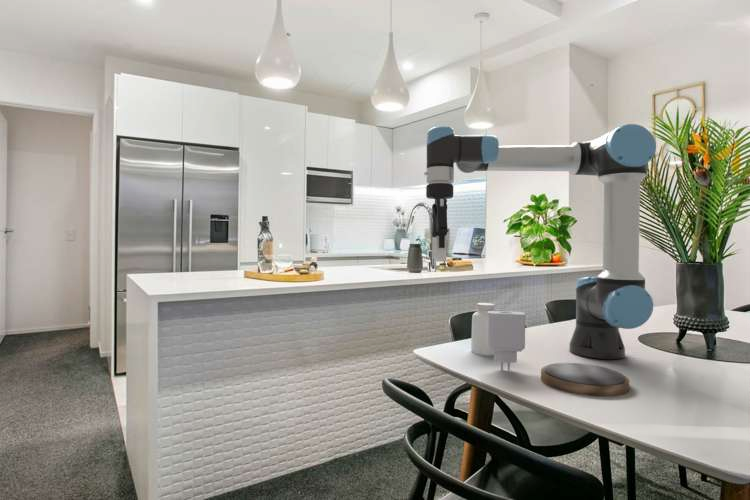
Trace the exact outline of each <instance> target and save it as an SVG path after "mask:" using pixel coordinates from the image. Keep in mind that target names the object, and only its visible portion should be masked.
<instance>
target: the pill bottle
mask: <svg viewBox="0 0 750 500" xmlns="http://www.w3.org/2000/svg"><path fill="white" fill-rule="evenodd" d="M495 309H496V305H495V303H490V302H478V303H476V311H475V312H474V313H473V314H472V317H471V339H470V341H471V343H470V344H471V345H470V346H471V347H470V349H471V353H473V354H476V355H480V356H494V350H491V349H490V348H489V347H488V345H487V320H488V311H496V310H495Z"/></svg>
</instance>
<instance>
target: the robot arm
mask: <svg viewBox="0 0 750 500" xmlns="http://www.w3.org/2000/svg"><path fill="white" fill-rule="evenodd" d="M426 134H427V137H426V138H427V139H426V171H424V174H423V175H424V176H426V184H427V185H426V187H425V191H426V192H425V193H426V194H425V197H426V198H427V199H430V200H434V203H433V204H432V205H431V212H432V214H431V216H432V230H431V236H432V237H431V238H432V239H431V241H432V243H431V245H432V246H431V251H432V253H431V260H435V261H437V262H439V261H440V262H443V261H447V247H448V246H447V245H448V244H447V242H448V239H447V235H448V232H449V229H448V204H447V203H448V200H450V199H453V197H454V185H453V183H455V181H454V180H455V179H454V178H455V177H454V176H455V168H454V164H455V166H456V167H457V169H458V170H459V171H460V172H462V173H463V174H471V173H473V172H486V171H487V172H500V171H501V172H568V173H569V174H570V175H572V176H575V175H576V176H578V175H579V176H595V177H597V178H598V181H600V182H601V183H602V184H603V228H602V229H603V233H602V234H603V236H602V237H603V240H602V242H603V243H602V244H603V245H602V246H603V247H602V271H600V273H599V274H597V275H596V276H592V277H591V276H586V277H581V278H578V279H577V281H576V288H575V300H576V301H575V328H574V330H573V333H572V336H571V338H570V341H569V349H568V350H569V352H571V353H572V354H575V355H578V356H582V357H584V358H585V357H586V358H593V359H600V360H601V359H602V360H617V359H624V358H625V357H626V348H625V345H624V342H623V337H622V336H621V333H620V332H621V331H620V329H623V330H624V329H625V330H632V329H633V330H634V329H636V328H639V327H641V326H642V325H644V324H646V322H648V321H649V319H650V318H651V316H652V314H653V311H654V300H653V298H652V296H651V294H650V293H649V292H648V291H647V289H646V278H645V277H644V276H643V274H641V273H640V272H639V269H640V267H639V266H640V265H639V263H640V262H639V261H640V217H641V216H640V213H641V212H640V211H641V210H640V209H641V208H640V207H641V206H640V205H641V202H640V201H641V182H642V181H644V179H646V178H647V176H648V163H649V162H650V161H651V160H652V159H653V157H654V156H655V154H656V150H657V142H656V138H655V137H654V135H653V133H652V132H651V131H649V130H648V129H647V128H646V127H644V126H643V125H640V124H636V123H627V124H624V125H620V126H617V127H614V128H613V129H612V130H610V131H609V132H607V133H606V134H604V135H602V136H599V137H598V138H596V139H593V140H589V141H582V142H581V141H580V142H577V141H576V142H573V143H572V144H571V145H499V144H500V143H499V139H498V137H497V136H496V135H488V134H482V135H474V134H473V135H457V134H456V133H455V129H454V128H453V127H451V126H446V125H445V126H443V125H442V126H434V127H431V128H430V129H429V130H428V131H427V133H426Z"/></svg>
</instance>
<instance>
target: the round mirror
mask: <svg viewBox="0 0 750 500" xmlns="http://www.w3.org/2000/svg"><path fill="white" fill-rule="evenodd" d="M540 380H541V382H542V383H544V384H546V386H549V387H552V388H553V389H557V390H559V391H563V392H567V393H568V392H569V393H572V394H577V395H585V396H595V397H615V396H621V395H625V394H627V393H628V392H630V379H629V377H627V376H626V375H625V374H623V373H621V372H619V371H617V370H614V369H612V368H607V367H603V366H599V365H593V364H586V363H580V362H579V363H578V362H577V363H576V362H557V363H550V364H547V365H545V366H543V367H541V369H540Z"/></svg>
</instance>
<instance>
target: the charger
mask: <svg viewBox="0 0 750 500" xmlns="http://www.w3.org/2000/svg"><path fill="white" fill-rule="evenodd" d="M487 345H488V347H489V348H490V349H491V350H494V355H493V357H494V358H493V359H494V360H493V362H498V363H500V369H501V370H504V363H507V370H511V369H510V367H511V363H512V364H513V363H517V362H518V361H517V360H518V359H517V357H518V352H522V351H523V350H525V348H526V313H525V312H524V311H503V310H499V311H498V310H495V311H488V320H487Z"/></svg>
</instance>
